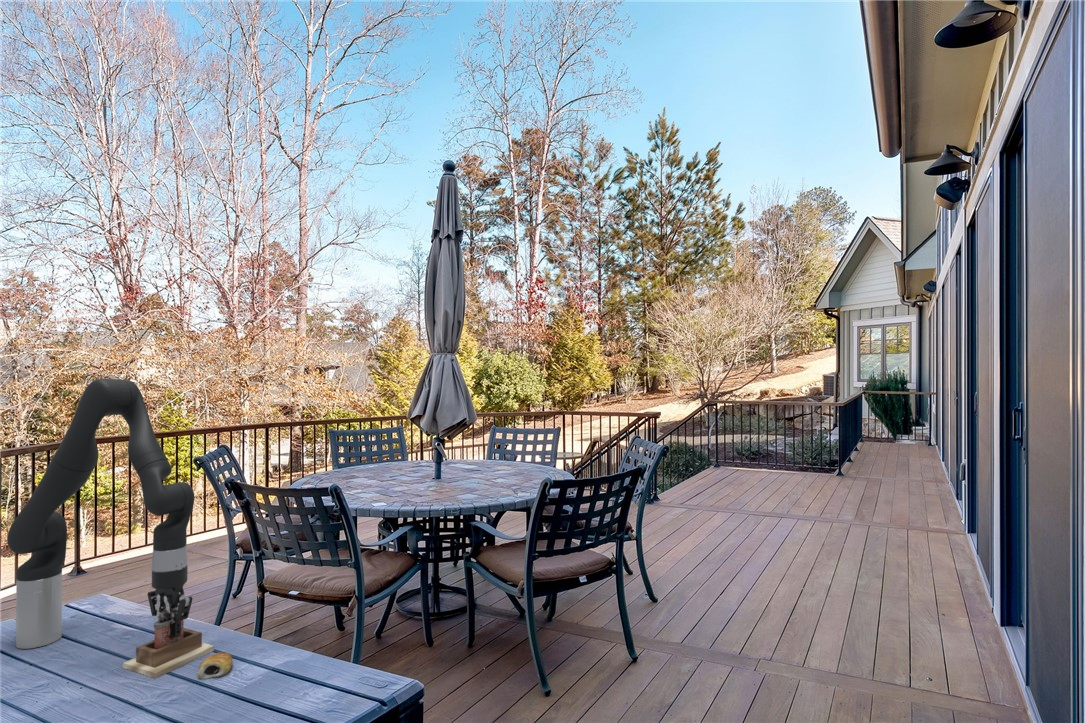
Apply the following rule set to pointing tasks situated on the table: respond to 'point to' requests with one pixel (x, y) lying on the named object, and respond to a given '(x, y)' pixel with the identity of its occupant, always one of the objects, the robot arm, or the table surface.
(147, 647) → the wooden box with base
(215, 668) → the pastry
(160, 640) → the lighter
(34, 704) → the table surface
